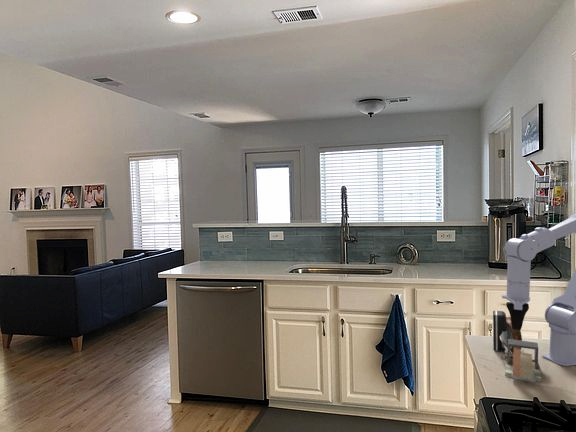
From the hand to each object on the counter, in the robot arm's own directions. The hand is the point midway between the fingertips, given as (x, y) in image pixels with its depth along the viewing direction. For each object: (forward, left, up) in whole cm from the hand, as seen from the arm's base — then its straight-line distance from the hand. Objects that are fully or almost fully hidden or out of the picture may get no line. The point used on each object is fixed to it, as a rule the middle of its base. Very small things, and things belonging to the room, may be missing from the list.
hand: (516, 328), depth 127 cm
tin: (-10, -13, -11) cm, 20 cm away
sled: (+5, +8, -9) cm, 13 cm away
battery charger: (-6, -12, -10) cm, 17 cm away
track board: (+1, +3, -10) cm, 11 cm away
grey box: (-1, +2, -9) cm, 10 cm away
